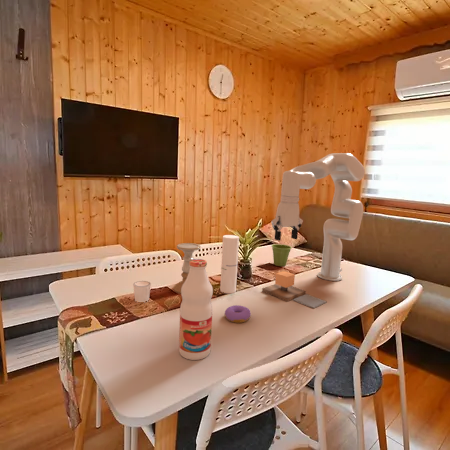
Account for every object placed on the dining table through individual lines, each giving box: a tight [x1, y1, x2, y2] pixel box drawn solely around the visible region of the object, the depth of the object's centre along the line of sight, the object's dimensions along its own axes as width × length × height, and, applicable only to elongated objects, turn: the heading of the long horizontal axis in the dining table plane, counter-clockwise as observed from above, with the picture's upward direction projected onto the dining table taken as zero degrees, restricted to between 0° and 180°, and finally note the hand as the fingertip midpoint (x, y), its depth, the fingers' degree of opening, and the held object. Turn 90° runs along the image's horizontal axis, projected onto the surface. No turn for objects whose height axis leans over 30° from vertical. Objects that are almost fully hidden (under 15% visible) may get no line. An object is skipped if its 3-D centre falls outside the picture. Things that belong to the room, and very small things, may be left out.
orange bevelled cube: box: [274, 270, 296, 288], centre depth 144 cm, size 6×6×5 cm
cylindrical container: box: [219, 234, 240, 294], centre depth 143 cm, size 7×7×25 cm
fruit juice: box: [178, 258, 214, 361], centre depth 93 cm, size 9×9×28 cm
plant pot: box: [271, 243, 293, 267], centre depth 189 cm, size 12×12×11 cm
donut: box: [224, 304, 252, 324], centre depth 118 cm, size 10×9×5 cm
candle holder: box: [173, 242, 201, 294], centre depth 142 cm, size 12×12×20 cm
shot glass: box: [132, 280, 152, 303], centre depth 129 cm, size 7×7×7 cm
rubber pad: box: [292, 293, 327, 309], centre depth 137 cm, size 10×10×1 cm
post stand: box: [261, 283, 307, 302], centre depth 145 cm, size 14×14×8 cm
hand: (285, 239), depth 140 cm, fingers open, 9 cm apart
